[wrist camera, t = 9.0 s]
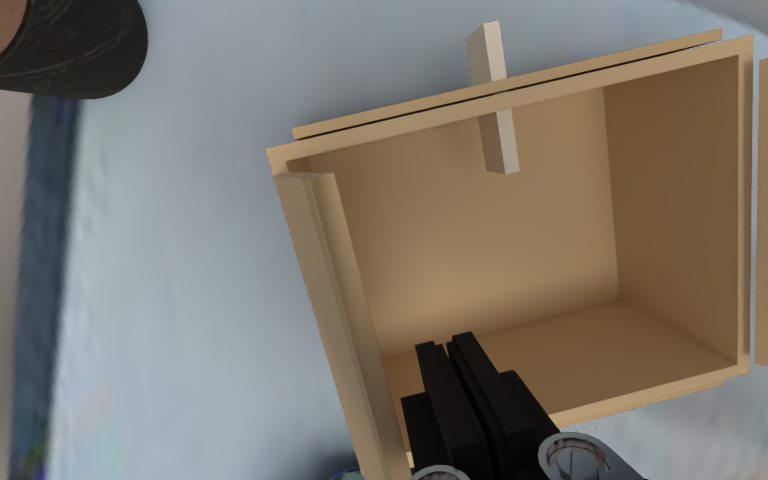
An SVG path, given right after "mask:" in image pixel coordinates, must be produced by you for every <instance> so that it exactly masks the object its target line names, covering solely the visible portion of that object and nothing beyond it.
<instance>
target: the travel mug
mask: <svg viewBox="0 0 768 480" xmlns="http://www.w3.org/2000/svg"><path fill="white" fill-rule="evenodd" d="M146 51H147V29H146V23H145V20H144V16H143V13H142V11H141V9H140V6H139V4H138V2H137V0H0V90H8V91H16V92H24V93H32V94H41V95H49V96H57V97H67V98H77V99H97V98H103V97H106V96H109V95H112V94H115V93H117V92H119V91H120V90H122V89H123V88H125V87H126V86H127V85H129V84H130V83H131V82H132V81H133V80H134V78H135V77H136V76H137V74H138V73H139V71H140V69H141V67H142V65H143V62H144V60H145V56H146Z"/></svg>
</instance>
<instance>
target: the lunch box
mask: <svg viewBox="0 0 768 480" xmlns="http://www.w3.org/2000/svg"><path fill="white" fill-rule="evenodd" d="M412 476H413V475H412ZM330 480H365V477H364V475H362V473H361V469H360V466H359V467H351V468H347V469H344V470H341V471H340V472H338V473H337V474H335V475H334V476H333V477H332V478H331V479H330Z"/></svg>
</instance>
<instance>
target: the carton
mask: <svg viewBox="0 0 768 480" xmlns="http://www.w3.org/2000/svg"><path fill="white" fill-rule="evenodd" d="M721 39H722V28H721V29H716V30H712V31H708V32H703V33H699V34H695V35H691V36H686V37H682V38H678V39H673V40H669V41H665V42H660V43H656V44H652V45H648V46H643V47H639V48H635V49H630V50H626V51H622V52H618V53H613V54H609V55H605V56H600V57H596V58H592V59H588V60H583V61H579V62H575V63H570V64H566V65H562V66H557V67H553V68H549V69H545V70H540V71H536V72H532V73H527V74H523V75H519V76H515V77H510V78H507V75H506V67H505V60H504V53H503V46H502V38H501V31H500V24H499V20H498V21H494V22H489V23H485V24H483V25H481V26H480V27H479V28H478V29H477V30H476V31H475V32H474V33H472V34H471V35H470V36H469V37H468V38H467V39H466V46H467V53H468V59H469V65H470V71H471V78H472V84H473V86H472V87H467V88H463V89H459V90H454V91H450V92H446V93H442V94H437V95H433V96H429V97H424V98H420V99H416V100H412V101H407V102H403V103H399V104H394V105H390V106H386V107H381V108H377V109H373V110H369V111H364V112H360V113H356V114H351V115H347V116H343V117H339V118H334V119H330V120H326V121H321V122H317V123H313V124H309V125H304V126H300V127H296V128H291V129H292V133H293V137H294V139H296V140H301V141H296V142H292V143H288V144H284V145H279V146H275V147H271V148H267V149H265V150H266V153H267V157H268V160H269V163H270V167H271V170H272V173H273V177H274V176H275V175H279V174H283V173H334V175H335V179H336V183H337V186H338V190H339V194H340V198H341V202H342V206H343V210H344V214H345V217H346V221H347V225H348V229H349V233H350V237H351V241H352V245H353V249H354V252H355V256H356V260H357V264H358V268H359V272H360V276H361V280H362V283H363V287H364V291H365V295H366V299H367V303H368V307H369V311H370V315H371V318H372V322H373V326H374V330H375V334H376V338H377V342H378V346H379V349H380V353H381V357H382V361H383V365H384V369H385V373H386V377H387V381H388V384H389V388H390V392H391V396H392V400H393V404H394V408H395V412H396V415H397V419H398V423H399V427H400V431H401V435H402V439H403V443H404V447H405V450H406V454H407V458H408V462H409V466H410V468H413V467H414V463H413V458H412V453H411V448H410V444H409V439H408V434H407V429H406V424H405V419H404V414H403V409H402V405H401V400H400V398H402V397H406V396H410V395H413V394H417V393H421V392H425V389H424V385H423V380H422V376H421V372H420V367H419V363H418V358H417V354H416V349H415V345H416V344H421V343H425V342H429V341H434V343H435V345H438V344H442V345H443V347H444V349H445V351H446V353H447V356H448V351H447V346H446V342H450V341H452V336H453V335H457V334H461V333H465V332H469V331H471V332H472V333H473V335H474V336H475V338H476V339H477V341H478V342H479V344H480V345H481V347H482V348H483V350H484V351H485V353H486V354H487V356H488V357H489V359H490V360H491V362H492V363H493V365H494V366H495V368H496V370H497V371H498V373H501V372H505V371H509V370H514V371H515V372H516V373H517V374H518V375H519V377H520V378H521V379H522V381H523V382H524V383H525V385H526V386H527V387H528V389H529V390H530V391H531V393H532V394H533V395H534V397H535V398H536V399H537V401H538V402H539V404H540V405H541V406H542V408H543V409H544V410H545V412H546V413H547V414H548V416H549V417H550V418H551V420H552V421H553V422H554V424H555V425H556V426H557V428H558V429H559V428H563V427H567V426H571V425H574V424H578V423H582V422H586V421H589V420H593V419H597V418H601V417H604V416H608V415H612V414H616V413H619V412H623V411H627V410H631V409H635V408H638V407H642V406H646V405H650V404H653V403H657V402H661V401H665V400H668V399H672V398H676V397H680V396H683V395H687V394H691V393H695V392H698V391H702V390H706V389H710V388H713V387H717V386H721V385H724V379H727V378H731V377H735V376H738V375H742V374H746V373H749V362H750V275H751V187H752V100H753V35H749V36H745V37H740V38H736V39H732V40H728V41H723V42H719V43H715V44H711V45H706V46H702V47H698V48H693V47H696V46H700V45H703V44H707V43H710V42H714V41H718V40H721ZM689 48H693V49H689ZM685 49H689V50H685ZM682 50H685V51H682ZM678 51H681V52H678ZM675 52H676V53H675ZM671 53H672V54H671ZM275 184H276V183H275ZM276 187H277V186H276ZM278 194H279V193H278ZM279 197H280V196H279ZM281 204H282V203H281ZM282 207H283V206H282ZM284 214H285V213H284ZM286 221H287V220H286ZM287 224H288V223H287ZM289 231H290V230H289ZM290 234H291V233H290ZM292 241H293V240H292ZM293 244H294V243H293ZM295 251H296V250H295ZM297 258H298V257H297ZM298 261H299V260H298ZM300 268H301V267H300ZM301 271H302V270H301ZM303 278H304V277H303ZM304 281H305V280H304ZM306 288H307V287H306ZM308 295H309V294H308ZM309 298H310V297H309ZM311 305H312V304H311ZM312 308H313V307H312ZM314 315H315V314H314ZM317 325H318V324H317ZM319 332H320V331H319ZM320 335H321V334H320ZM322 342H323V341H322ZM323 345H324V344H323ZM325 352H326V351H325ZM448 358H449V356H448ZM328 362H329V361H328ZM330 369H331V368H330ZM331 372H332V371H331ZM333 379H334V378H333ZM334 382H335V381H334ZM336 389H337V388H336ZM339 399H340V398H339ZM341 406H342V405H341ZM342 409H343V408H342ZM344 416H345V415H344ZM345 419H346V418H345ZM347 426H348V425H347ZM350 436H351V435H350ZM352 443H353V442H352ZM353 446H354V445H353ZM355 453H356V452H355ZM356 456H357V455H356ZM358 463H359V462H358ZM360 469H361V468H360ZM361 473H362V471H361ZM362 475H363V473H362Z"/></svg>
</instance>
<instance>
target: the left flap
mask: <svg viewBox="0 0 768 480" xmlns="http://www.w3.org/2000/svg"><path fill="white" fill-rule="evenodd" d="M274 180H275V183H276V186H277V190H278V193H279V196H280V200H281V203H282V206H283V210H284V213H285V217H286V220H287V223H288V227H289V230H290V233H291V237H292V240H293V243H294V247H295V250H296V254H297V257H298V260H299V264H300V267H301V270H302V274H303V277H304V280H305V284H306V287H307V291H308V294H309V297H310V301H311V304H312V307H313V311H314V314H315V318H316V321H317V324H318V328H319V331H320V334H321V338H322V341H323V344H324V348H325V351H326V355H327V358H328V361H329V365H330V368H331V371H332V375H333V378H334V381H335V385H336V388H337V392H338V395H339V398H340V402H341V405H342V408H343V412H344V415H345V418H346V422H347V425H348V429H349V432H350V435H351V439H352V442H353V445H354V449H355V452H356V455H357V459H358V462H359V466H360V468H361V471H362V473H363V475H364V477H365V480H409V479H410V478H411V477H412V474H411V470H410V466H409V462H408V458H407V454H406V450H405V447H404V443H403V439H402V435H401V431H400V427H399V423H398V419H397V415H396V412H395V408H394V404H393V400H392V396H391V392H390V388H389V384H388V381H387V377H386V373H385V369H384V365H383V361H382V357H381V353H380V349H379V346H378V342H377V338H376V334H375V330H374V326H373V322H372V318H371V315H370V311H369V307H368V303H367V299H366V295H365V291H364V287H363V283H362V280H361V276H360V272H359V268H358V264H357V260H356V256H355V252H354V249H353V245H352V241H351V237H350V233H349V229H348V225H347V221H346V217H345V214H344V210H343V206H342V202H341V198H340V194H339V190H338V186H337V183H336V179H335V175H334V173H283V174H279V175H275V176H274Z"/></svg>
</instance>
